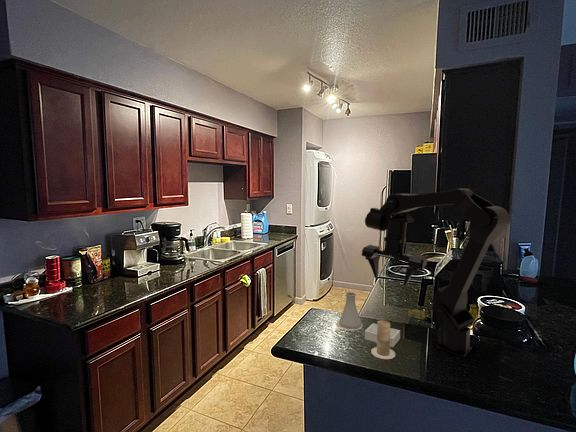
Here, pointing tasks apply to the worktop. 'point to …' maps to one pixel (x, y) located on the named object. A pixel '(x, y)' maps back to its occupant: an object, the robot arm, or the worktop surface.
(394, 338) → the grey cover
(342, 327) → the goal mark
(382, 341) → the birch peg
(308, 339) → the worktop surface
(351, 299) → the flask
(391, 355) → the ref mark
